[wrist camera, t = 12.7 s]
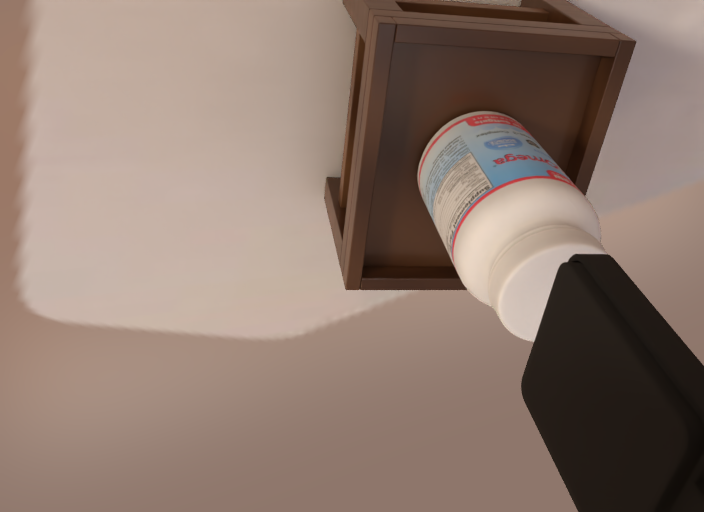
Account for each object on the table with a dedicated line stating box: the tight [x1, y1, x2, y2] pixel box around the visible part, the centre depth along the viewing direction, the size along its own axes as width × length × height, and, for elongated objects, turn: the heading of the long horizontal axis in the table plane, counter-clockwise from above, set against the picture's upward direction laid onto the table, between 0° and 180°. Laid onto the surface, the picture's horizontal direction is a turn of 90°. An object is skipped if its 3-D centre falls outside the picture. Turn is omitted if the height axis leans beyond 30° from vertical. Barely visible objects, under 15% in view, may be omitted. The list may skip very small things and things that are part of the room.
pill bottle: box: [418, 111, 608, 342], centre depth 30 cm, size 6×6×11 cm
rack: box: [324, 0, 636, 290], centre depth 37 cm, size 14×12×10 cm
